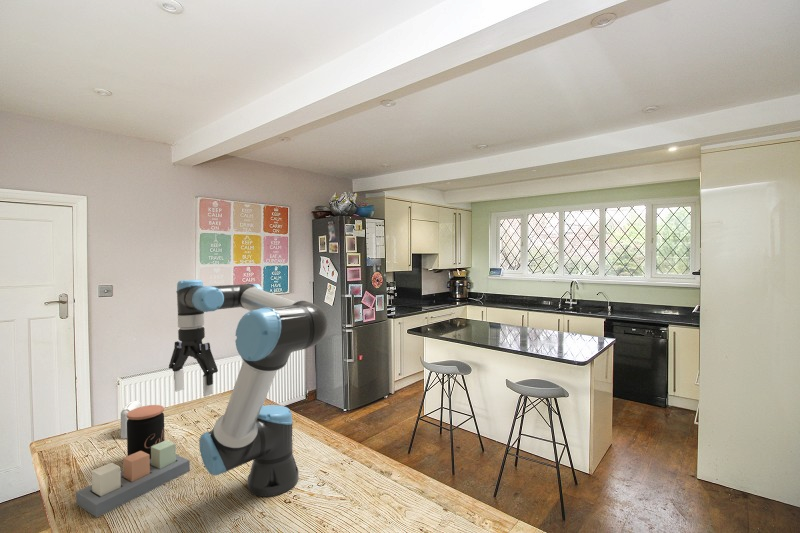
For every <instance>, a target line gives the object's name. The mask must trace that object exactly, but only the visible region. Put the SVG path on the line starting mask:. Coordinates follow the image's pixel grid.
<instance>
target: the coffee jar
mask: <svg viewBox="0 0 800 533" xmlns="http://www.w3.org/2000/svg"><path fill="white" fill-rule="evenodd" d="M164 410H165V406H163V405H161V404H151V405H144V406H141V407H139V408H136V409H133V410H131V411H129V412H128V413H127V418H128V420H127V439H126V444H127V446H126V449H127V452H126V453H127V456H129V455H131V454H134V453H136V452H139V451H143V452H145V453H147V454H149V455H150V459H151V446H153V445H156V444H158V443H161V442H163V441H166V439H165V414H164Z"/></svg>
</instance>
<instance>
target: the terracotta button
mask: <svg viewBox="0 0 800 533" xmlns="http://www.w3.org/2000/svg"><path fill="white" fill-rule="evenodd" d="M122 464H123V465H122V467H123V469H122V471H123V477H124V478H126V479H128V480H129V481H131V482H133V481H135V480H138V479H140V478H142V477H144V476H146V475H148V474H150V455H149V454H147V453H145V452H143V451H139V452H136V453H134V454H131V455H129V456H124V457H123V458H122Z"/></svg>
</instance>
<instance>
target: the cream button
mask: <svg viewBox="0 0 800 533" xmlns="http://www.w3.org/2000/svg"><path fill="white" fill-rule="evenodd" d="M120 472H121V467H120V465H117V464H116V463H113V462H110V463H107V464H105V465H102V466H100V467H97V468H95V469H92V470H91V485H92V492H94V493H96V494H97V495H99V496H100V497H101V496H103V495H105V494H107V493H110V492H112V491H114V490H116V489H118V488H120V487H121V473H120Z"/></svg>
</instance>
